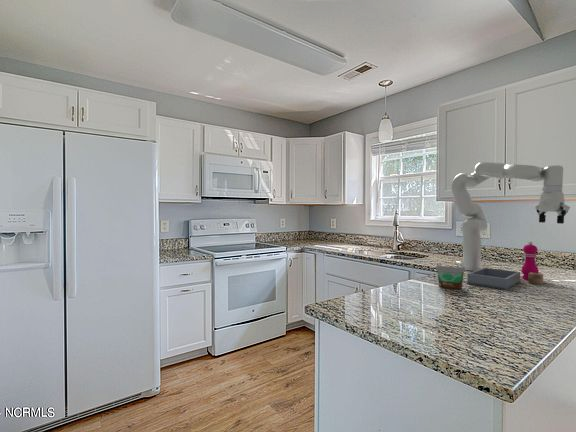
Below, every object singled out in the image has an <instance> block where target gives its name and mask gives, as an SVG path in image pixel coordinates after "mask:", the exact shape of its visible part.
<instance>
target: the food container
mask: <svg viewBox="0 0 576 432" xmlns="http://www.w3.org/2000/svg"><path fill="white" fill-rule="evenodd" d="M435 266H436V267H435V270H436V271H437V281H438V287H440V288H442V289H445V290H453V291H454V290H458V291H459V290H462V287H463V280H464V273H465V272H466V271H467V270H465V268H464V267H462V268H460V267H454V266H443V265H438V264H436V265H435Z"/></svg>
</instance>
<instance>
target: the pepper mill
mask: <svg viewBox="0 0 576 432" xmlns="http://www.w3.org/2000/svg"><path fill="white" fill-rule="evenodd" d="M522 251H523V252H524V257H525V261H524V263H523V264H522V267H521V270H520V271H521V272H520V273H522V277H521V278H522V279H523V280H525V281H528V274H529V273H530V272H531V273H540V272H539V271H540V270H539V268H538V266H537V264H536V257H537V254H536V253H537V252H538V247H537V245H535V244H533V242H532V241H528V244H525V245H524V246H523V248H522Z"/></svg>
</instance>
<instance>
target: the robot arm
mask: <svg viewBox="0 0 576 432" xmlns="http://www.w3.org/2000/svg"><path fill="white" fill-rule="evenodd" d="M490 178H496V179H517V180H527V181H532V182H541V181H543V185H542V187H543V188H542V189H541V191H542V192H541V193H540V195H539V196H540V197H539V202H538V205H537V206H535V210H536V213H537V215H538V223H544V224H545V223H546V214H547V212H550V213H551V212H553V213H554V212H556V213H557V214H558V215H557V216H556V217H557V218H556V223H557V224H564V223H565V216H566V215H567V213H568V212H569V210H570V208H571V206H569V205H568V204H565V196H564V192H563V185H564V184H563V183H564V180H563V179H564V167H563V165H560V164H559V165H558V164H555V165H548V166H545V167H539V166H538V165H537V166H536V165H529V164H515V163H513V164H512V163H506V162H505V163H503V162H489V161H482V162H478V163H477V164H476V165H475V167H474V172H471V173H467V172H461V173H459V174H457V175H455V177H454V178H453V180H451V193H452V196H453V198H454V201H455V204H456V206H457V209H458V213H459V215H460V216H462V217H466V219H465V220H464V221H463V223H462V224H461V232H462V239H463V240H462V260H461V261H459V260H458V261H457V260H456V261H455V264H456V265H460V266H459V268H462V267H464V268H465V271H470V272H473V271H476V270H479V269H482V268H483V267H482V266H481V265H482V263H481V262H482V261H481V259H482V258H481V257H482V239H481V238H482V237H481V234H482V233H485V231H486V230H487V228H488V222H487V220H486V217H485V215H484V212H483V208H482V207H481V206H480V204H479V203H477V202H475V201H474V202H473V201H472V198H471V195H470V193H469V191H468V189H467V188H474V187H475V188H476V187H477V186H479V185H481V184H482V183H484V182H485V181H487V180H489V179H490Z"/></svg>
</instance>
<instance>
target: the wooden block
mask: <svg viewBox="0 0 576 432" xmlns="http://www.w3.org/2000/svg"><path fill="white" fill-rule="evenodd" d="M527 283H530V284H529V285H535V284H536V285H537V286H542V285H544V273H540V272H539V273H531V272H530V273H529V274H528V280H527ZM536 285H535V286H536Z"/></svg>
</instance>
